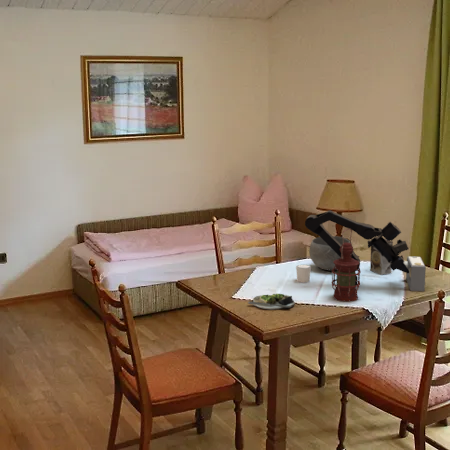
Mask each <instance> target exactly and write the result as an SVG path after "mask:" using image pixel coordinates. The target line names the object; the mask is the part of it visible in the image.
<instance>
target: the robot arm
mask: <svg viewBox="0 0 450 450" xmlns="http://www.w3.org/2000/svg"><path fill="white" fill-rule="evenodd" d="M329 221H330V222H333V223H334V224H337V225H339V226H342V227H344V228H346V229H349V230H350V229H351V230H352V232H354V233H356V234H357V235H359V237H362V238H363V239H364V240H366V241H367V248H368V249H371V246H372V245H373V246H374V247H375V248H376V249H377V250H378V251H379V252H380V253H381V255H382V256H384V257H385V258H386V259H387V261H388V262H389V263H390V268H391V269H392V270H391V271H392V272H394V271H395V270H398V271H401V272H403V273H409V270H408V268H407V267H406V265H405V264H404V261H405V259H404V257H403V255H402V254H401V252H404V251H408V250H409V246H408V244H407V242H406V240H402V239H401V238H400V239H397V241H396V243H395V244H394V245H392V244H389V243H388V242H387V241H394V240H395V239H396V238H397V237H399V235H401V234H402V231H401V230H400V228H398V226H397V225H396V224H394V223H393V222H392V221H388V223H387V224H386V225H385V226H384V227H382V228H380V227H375V226H373V225H372V224H369V223H365V222H359V221H355V220H353V219H352V218H348V217H346V216H344V215H342V214H339V213H337V212H335V211H333V210H327V211H324V212H321V213H319V214H310V215H308V216H307V217H306V219H305V222H304V226H305V227H306V229H308V230H309V231H310V232H312V233H313V234H316V235H317V236H319V237H321V238H322V239H323V240H324V241H325V242H326V243H327V244H328V245H329V246H330V247H331V248H332V249H333V250H334V251H335V252H336V253H337V254H338V255H339V256H340V257H341V252H340V247H341V246H342V245H341V244H340V243H339V242H338V241H337V240H336V239H335V238H334V237H333V236H334V235H332V234H331V233H330V232H329V231H328V230H327V229H326V227H325V226H324V225H323V224H326V223H327V222H329ZM351 230H350V231H351ZM371 239H372V240H371ZM385 239H386V240H387V241H386V240H385ZM400 254H401V255H400ZM342 256H343V255H342ZM351 258H353V259H354V260H357V261H359V265H358V267H359V268H361V260H360V256H359V255H357V253H355V250H353V253H352V256H351ZM391 261H392V262H391ZM358 267H357V269H358V270H359V268H358ZM357 272H358V271H357V270H355V274H357ZM355 280H357V281H358V275H355ZM357 284H358V282H356V281H355V286H356V285H357ZM355 288H356V289H357V287H355Z"/></svg>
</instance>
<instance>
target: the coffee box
mask: <svg viewBox="0 0 450 450" xmlns="http://www.w3.org/2000/svg"><path fill="white" fill-rule="evenodd" d="M372 239H373V238H372ZM372 239H370V241H371V240H372ZM384 239H385V238H384ZM385 240H386V239H385ZM386 241H387V240H386ZM393 241H394V240H392V241H391V240H390V241H387V242H388V243H389V244H392V245H393V244H394V242H393ZM393 246H394V245H393ZM391 262H392V261H391ZM369 270H370V271H371V272H373V273H374V274H375V273H376V274H378V275H381V276H383V274H385V275H391V274H392V271H393V270H392V269H391V268H390V263H389V262H388V261H387V259H386V258H385V257H384V256H382V255H381V253H380V252H379V251H378V250H377V249H376V248H375V247H374V246H373V245H372V246H371V247H370V269H369ZM390 273H391V274H390Z"/></svg>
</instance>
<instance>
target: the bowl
mask: <svg viewBox="0 0 450 450" xmlns="http://www.w3.org/2000/svg"><path fill="white" fill-rule="evenodd" d="M332 236H333V237H334V238H335V239H336V240H337V241H338V242H339V243H340V244H341V245H342V244H343V238H344V243H346V242H347V243H350V239H347V238H345V237H342V236H338V235H336V236H334V235H332ZM308 251H309V257H310V260H311V261H312V263H313V264H314V265H315V266H316V267H318V268H319V269H322V270H324V271H331V272H332V269H333V268H334V266H335V264H334V263H333V261H334V260H337V259H339V258H341V257H340V256H339V255H338V254H337V253H336V252H335V251H334V250H333V249H332V248H331V247H330V246H329V245H328V244H327V243H326V242H325V241H324V240H323V239H322V238H321V237H320V236H319V237H316V238H313V239H312V240H311V243H310V245H309V250H308ZM335 268H336V267H335ZM335 271H337V269H336V270H335Z"/></svg>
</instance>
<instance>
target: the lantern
mask: <svg viewBox="0 0 450 450" xmlns="http://www.w3.org/2000/svg"><path fill="white" fill-rule="evenodd" d="M348 230H349V231H350V236H349V241H350V243H347V242H346V243H344V238H345V237H344V233H345V232H346V231H348ZM352 233H353V230H351V229H348V228H346V229H345V230H343V231H342V233H341V237H342V238H343V244H342V246H341V247H340V252H341V258H339V259H337V260H334V261H333V263H334V264H335V266H334V268H333V269H332V270H331V276H332V277H331V279H332V280H331V286H332V287H331V288H332V289H333V291H334V293H333V297H332V298H333V299H334V300H335V301H339V302H346V303H347V302H355V301H357V300H358V299H359V296H358V290H359V288H360V286H361V280H360V279H361V278H360V277H361V272H362V271H361V267H358V265H359V261H357V260H354V259H353V258H351V256H352V253H353V251H355V250H354V246H353V243H352V239H351V237H352ZM342 255H343V256H342ZM335 267H336V268H335ZM357 267H358V268H359V269H357ZM336 269H337V270H336ZM355 270H357V271H355ZM355 272H356V274H355ZM355 275H357V280H355ZM355 281H356V282H357V285H356V286H355ZM334 287H335V288H334ZM355 287H357V288H355Z"/></svg>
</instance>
